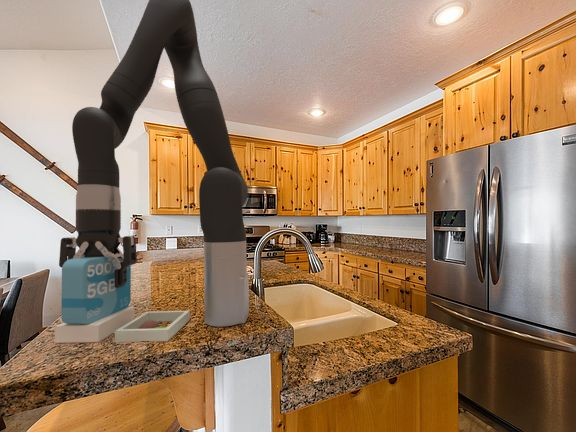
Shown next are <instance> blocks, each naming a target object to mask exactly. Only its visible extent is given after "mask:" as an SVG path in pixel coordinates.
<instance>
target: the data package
mask: <svg viewBox="0 0 576 432" xmlns="http://www.w3.org/2000/svg"><path fill="white" fill-rule="evenodd" d="M122 254H123V253H122ZM123 255H124V254H123ZM123 257H124V256H123ZM131 267H132V265H130V266H128V268H127V282H126V283H125V285H124V286H123V287H120V288H115V286H114V272H115V270H116V268H115V267H114V265H113V264H112V263H111V262H110V261H108V260H107V259H106V258H105V257H83V258H75V259H69V260H68V259H67V261H66V262H65V263H64V264H63V266H62V267H61V302H60V303H61V305H60V307H61V308H60V309H61V315H60V316H61V317H60V318H61V321H62V323H63V322H64V323H66V324H90V323H92V322H95V321H97V320H99V319H102V318H104V317H106V316H109V315H111V314H113V313H116V312H118V311H120V310H123V309H125V308H127V307H129V305H130V304H131V300H132V298H131V296H132V295H131V294H132V293H131V292H132V291H131V285H132V284H131V280H132V279H131V277H132V276H131V275H132V273H131V271H132V270H131Z"/></svg>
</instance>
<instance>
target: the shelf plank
mask: <svg viewBox="0 0 576 432" xmlns="http://www.w3.org/2000/svg"><path fill="white" fill-rule="evenodd" d="M134 319H135V306H128V307H127V308H125V309H123V310H120V311H118V312H116V313H113V314H111V315H109V316H106V317H104V318H102V319H99V320H97V321H95V322H92V323H90V324H66V323H64V322H63V321H62V322H60V323H59V324H57V325H54V335H53V336H54V337H53V338H54V344H66V343H67V344H69V343H70V344H71V343H73V344H74V343H75V344H76V343H99V342H101V341H102V340H105V338H107V337H109V336H110V335H112V334H115V331H116V330H117V329H119V328H121V327H122V326H124V325H126V324H127V323H129V322H131V321H132V320H134Z"/></svg>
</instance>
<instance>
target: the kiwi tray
mask: <svg viewBox="0 0 576 432" xmlns="http://www.w3.org/2000/svg"><path fill="white" fill-rule="evenodd" d="M190 320H191V311H190V310H170V311H169V310H167V311H166V310H163V311H162V310H161V311H158V310H156V311H146V312H143V313H142V314H141V315H139V316H137V317H136V318H134V320H132V321H131V322H129V323H127V324H126V325H124V326H122V327H121V328H119V329H117V330H116V331H115V332H114V343H142V342H141V341H149V342H168V341H170V339H172V338H173V337H174V336H175V335H176V334H177V333H178V332H179V331H180V330H181V329H183V327H184V326H186V324H187V323H189V321H190ZM147 321H157V322H158V323H160V322H162V323H163V322H165V323H166V322H170V324H168V325H166V326H167V327H166V328H153V329H138V328H139V327H140V325H141V324H143V323H144V322H147Z"/></svg>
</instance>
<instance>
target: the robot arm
mask: <svg viewBox="0 0 576 432" xmlns="http://www.w3.org/2000/svg"><path fill="white" fill-rule="evenodd" d="M193 9H194V8H193V6H192V4H191V1H190V0H148V2H147V5H146V7H145V9H144V11H143V14H142V17H141V19H140V21H139V24H138V26H137V28H136V30H135V33H134V35H133V37H132V40H131V42H130V44H129V46H128V48H127V50H126V52H125V54H124V55H123V57H122V59H121V60H120V62H119V63H118V65H117V66H116V68H115V69H114V71H113V72H112V74H111V75H110V77H109V78H108V80H106V82H105V84H104V85H103V87H102V89H101V91H100V97H101V104H100V106H99V108H98V107H96V106H87V107H83V108H81V109H79V110H78V111H77V112H76V113H75V115H74V116H73V119H72V123H71V125H72V127H71V128H72V130H71V131H72V132H71V133H72V138H73V139H72V140H73V145H74V150H75V154H76V155H75V156H76V159H77V163H78V164H77V189H76V195H75V231H76V232H77V237H75V236H73V237H67V236H66V237H62V238H61V239H60V247H59V248H60V249H59V258H58V259H59V262H58V266H59V267H60V268H62V266H63V264H64V263H65V262H66V261H67V260H69V259H75V258H83V257H105V258H106V259H107V260H108V261H110V262H111V263H112V264H113V265H114V267H115V268H116V270H115V272H114V286H115V288H120V287H123V286H124V285H125V283H126V282H127V268H128V266H130V265H131V266H133V265H136V264H137V262H138V258H137V256H138V254H137V242H136V237H135V235H128V236H127V235H126V236H123V237H122V236H121V234H120V232H121V226H122V225H121V224H122V223H121V221H122V215H121V214H122V212H121V211H122V209H121V207H122V205H121V203H122V199H121V197H122V196H121V191H120V168H119V163H118V162H117V160H116V153H115V150H116V149H117V148H118V147H119V146H121V144H122V143H124V140H125V138H126V136H127V135H128V132H129V130H130V127H131V125H132V122H133V119H134V117H135V115H136V113H137V111H138V109H139V108H140V107H141V105H142V103H144V100H145V99H146V98H147V96H148V94H149V92H150V91H151V89H152V86H153V84H154V82H155V78H156V75H157V70H158V67H159V64H160V60H161V56H162V54H163V51H164V50H165V53H166V54H167V57H168V60H169V63H170V65H171V68H172V72H173V73H172V74H173V81H174V90H175V95H176V100H177V104H178V107H179V111H180V114H181V118H182V121H183V122H184V125H185V127H186V129H187V131H188V134H189V135H190V137H191V139H192V141H193V143H194V144H195V146H196V147H197V149H198V151H199V154H200V155H201V157H202V159H203V162H204V165H205V168H206V172H205V174H204V175H203V177H202V178H201V180H200V184H199V189H198V200H199V201H198V202H199V203H198V204H199V219H200V220H199V222H200V228H201V232H202V234H203V269H204V270H203V275H204V276H203V277H204V278H203V285H204V286H203V290H204V293H203V294H204V295H203V299H204V305H203V306H204V323H205V324H206V325H208V326H211V327H219V328H220V327H230V326H235V325H240V324H245V323H246V322H247V319H248V317H249V315H250V295H249V294H250V290H249V289H250V288H249V287H250V283H249V282H250V281H249V272H247V270H248V268H247V264H248V263H247V259H248V258H247V229H246V227H245V222H244V216H243V207H244V206H245V204H246V202H247V199H248V193H249V190H248V186H247V183H246V180H245V179H244V176H243V174H242V172H241V170H240V168H239V165H238V162H237V161H236V157H235V154H234V152H233V149H232V144H231V140H230V135H229V130H228V128H227V124H226V119H225V115H224V111H223V107H222V105H221V102H220V101H221V100H220V98H219V95H218V92H217V89H216V88H215V84H214V83H213V81H212V79H211V78H210V76H209V74H208V72H207V70H206V69H205V67H204V63H203V61H202V57H201V52H200V47H199V42H198V33H197V31H198V30H197V27H196V20H195V14H194V10H193ZM119 246H121V247H122V250H123V251H121V249H120V248H119ZM77 247H78V250H77ZM123 254H124V255H123ZM123 256H124V257H123Z"/></svg>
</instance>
